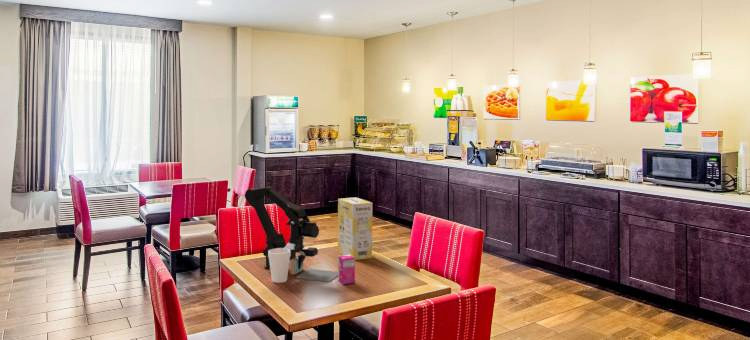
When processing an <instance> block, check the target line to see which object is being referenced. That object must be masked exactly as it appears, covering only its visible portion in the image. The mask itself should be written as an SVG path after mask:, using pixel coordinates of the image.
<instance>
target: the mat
mask: <svg viewBox="0 0 750 340" xmlns="http://www.w3.org/2000/svg"><path fill="white" fill-rule="evenodd" d="M336 278H338V271H333V270H323V269H316V268H315V269H314V268H309V269H307V270H305V271H303V272H301V273H300V274H299V275H297V276H296V277H295V279H299V280H308V281H315V282H316V281H317V282H325V283H331V282H332V281H333V280H335V279H336Z"/></svg>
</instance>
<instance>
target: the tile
mask: <svg viewBox="0 0 750 340" xmlns="http://www.w3.org/2000/svg"><path fill="white" fill-rule="evenodd" d="M299 255H300V254H297V255H296V257H294V258H292V259H291V260H290V261H289V270H290V271H289V274H290V275H296V274H298V273H301V271H304V263H303V264H302V266H301V269H300V270H299V268H298V264H299V258H298V256H299Z"/></svg>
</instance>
